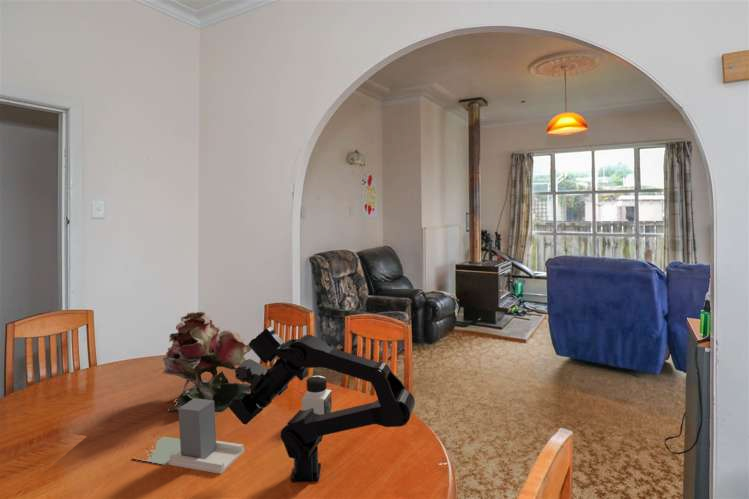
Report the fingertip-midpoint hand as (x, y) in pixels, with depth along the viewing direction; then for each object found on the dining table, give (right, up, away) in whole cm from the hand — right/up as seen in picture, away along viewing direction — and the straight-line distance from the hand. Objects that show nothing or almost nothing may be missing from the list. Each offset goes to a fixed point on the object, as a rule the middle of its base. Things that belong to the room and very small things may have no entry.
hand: (240, 415), depth 104 cm
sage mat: (-23, -12, +7) cm, 27 cm away
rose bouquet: (-25, -10, +39) cm, 47 cm away
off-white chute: (-10, -12, +4) cm, 16 cm away
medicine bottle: (+16, -10, +25) cm, 32 cm away
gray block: (-12, -12, +4) cm, 18 cm away
